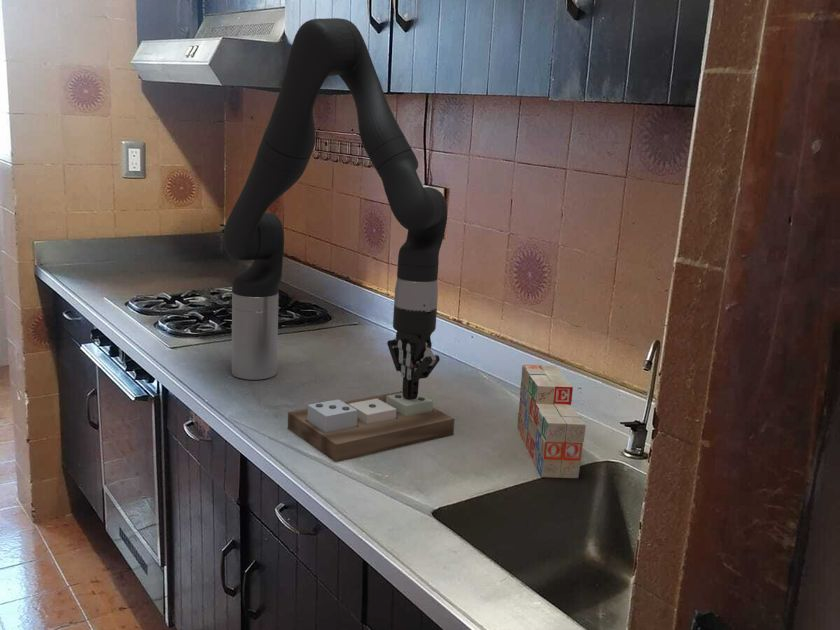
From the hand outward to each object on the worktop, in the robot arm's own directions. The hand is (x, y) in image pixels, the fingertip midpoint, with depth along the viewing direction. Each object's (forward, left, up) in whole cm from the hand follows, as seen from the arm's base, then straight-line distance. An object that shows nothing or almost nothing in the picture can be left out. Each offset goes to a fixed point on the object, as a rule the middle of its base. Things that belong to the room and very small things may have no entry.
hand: (409, 397), depth 144 cm
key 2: (0, 0, -3) cm, 3 cm away
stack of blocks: (+21, +14, -5) cm, 26 cm away
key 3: (0, -16, -2) cm, 16 cm away
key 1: (0, -8, -4) cm, 9 cm away
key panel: (0, -8, -5) cm, 9 cm away
